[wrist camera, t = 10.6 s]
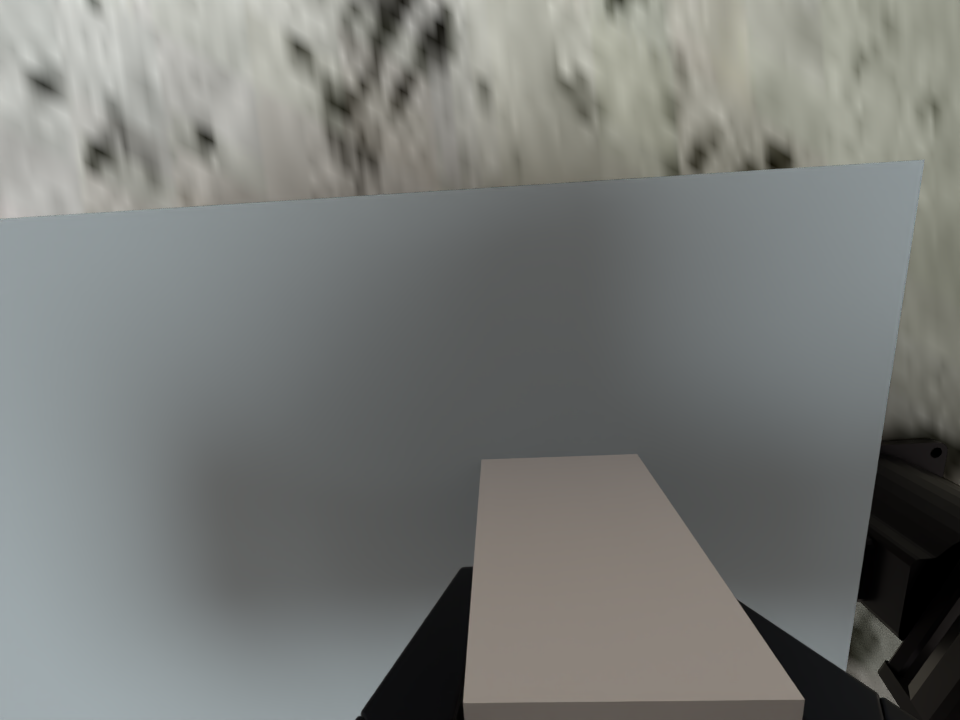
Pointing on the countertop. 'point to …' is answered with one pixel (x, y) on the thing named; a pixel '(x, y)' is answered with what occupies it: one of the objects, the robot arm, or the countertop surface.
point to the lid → (445, 443)
